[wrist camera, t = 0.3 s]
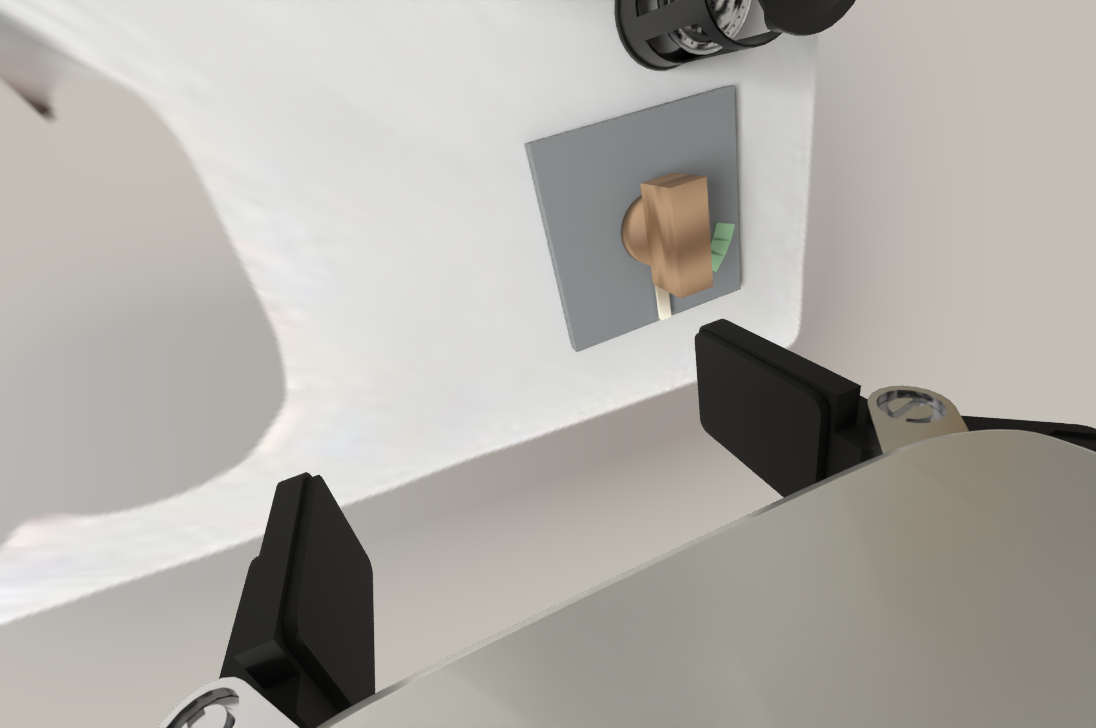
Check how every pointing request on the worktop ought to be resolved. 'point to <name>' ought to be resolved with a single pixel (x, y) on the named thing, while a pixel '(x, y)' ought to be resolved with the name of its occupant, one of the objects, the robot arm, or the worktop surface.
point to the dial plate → (611, 187)
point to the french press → (715, 26)
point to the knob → (671, 235)
